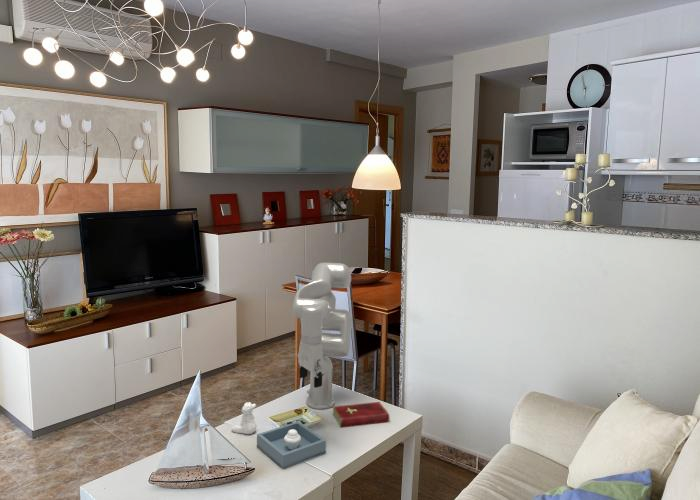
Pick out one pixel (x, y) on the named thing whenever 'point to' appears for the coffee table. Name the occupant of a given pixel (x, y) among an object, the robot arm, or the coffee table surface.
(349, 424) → the hardcover book
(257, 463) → the coffee table surface
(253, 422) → the white creature statuette
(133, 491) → the coffee table surface
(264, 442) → the bin
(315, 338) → the robot arm
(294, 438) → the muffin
